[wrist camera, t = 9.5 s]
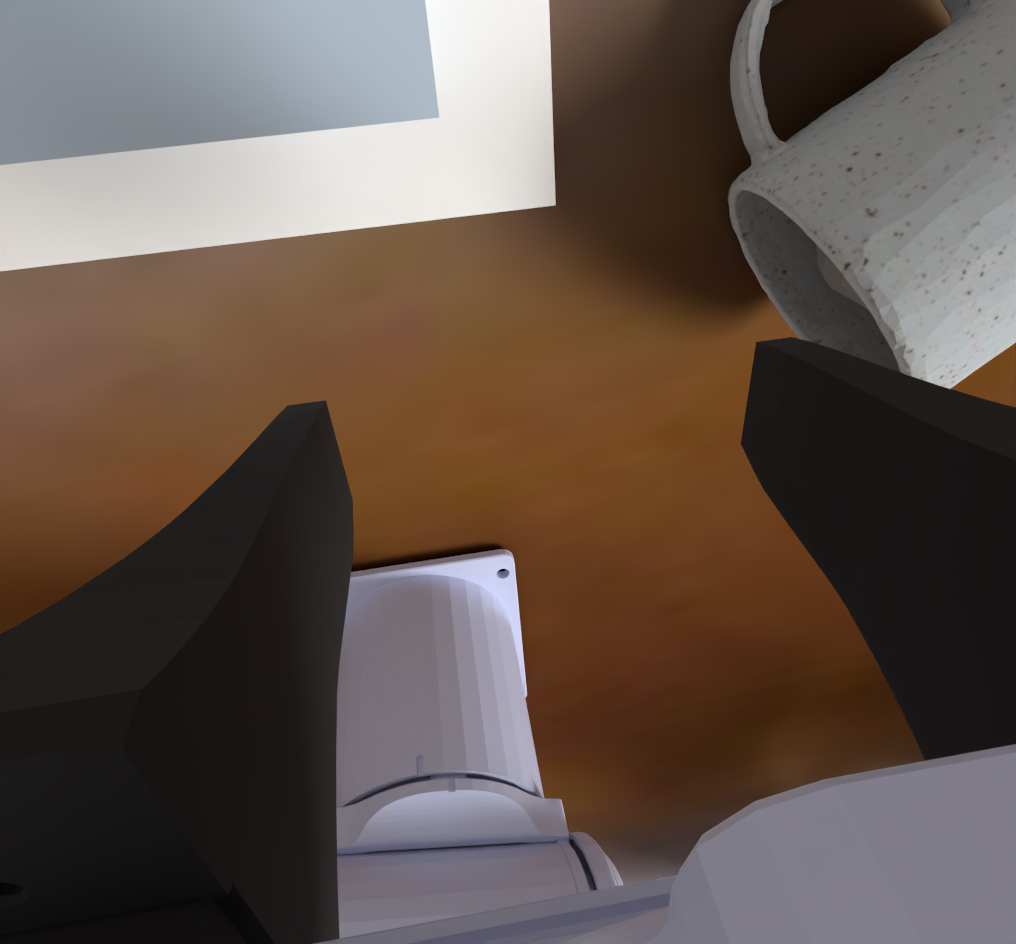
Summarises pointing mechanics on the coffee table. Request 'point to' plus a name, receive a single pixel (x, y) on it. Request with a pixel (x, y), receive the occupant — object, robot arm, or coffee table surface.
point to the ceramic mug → (891, 201)
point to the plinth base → (314, 162)
